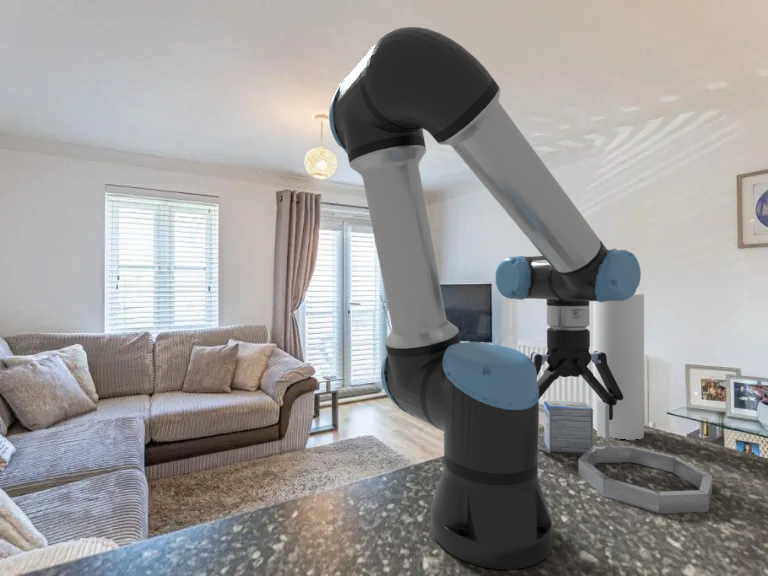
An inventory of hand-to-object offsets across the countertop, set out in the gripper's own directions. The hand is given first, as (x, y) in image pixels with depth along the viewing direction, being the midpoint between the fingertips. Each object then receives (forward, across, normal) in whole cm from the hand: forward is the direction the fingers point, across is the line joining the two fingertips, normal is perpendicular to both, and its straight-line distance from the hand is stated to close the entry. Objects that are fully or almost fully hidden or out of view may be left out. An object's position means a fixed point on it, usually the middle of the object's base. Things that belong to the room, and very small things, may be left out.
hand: (568, 437), depth 79 cm
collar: (+2, +5, -14) cm, 15 cm away
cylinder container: (+2, +15, +8) cm, 17 cm away
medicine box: (+2, 0, 0) cm, 2 cm away
